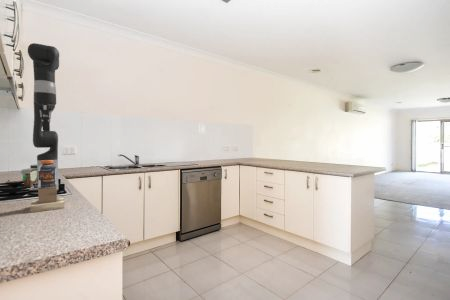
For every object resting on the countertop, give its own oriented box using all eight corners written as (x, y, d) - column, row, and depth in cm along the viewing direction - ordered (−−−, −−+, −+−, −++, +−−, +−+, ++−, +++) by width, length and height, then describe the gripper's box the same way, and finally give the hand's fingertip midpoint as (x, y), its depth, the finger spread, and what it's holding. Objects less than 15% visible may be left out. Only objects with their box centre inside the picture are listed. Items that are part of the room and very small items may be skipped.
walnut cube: (39, 200, 102) (39, 186, 101) (56, 198, 105) (56, 185, 105) (38, 203, 97) (38, 189, 96) (56, 201, 100) (56, 187, 100)
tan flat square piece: (32, 206, 102) (32, 200, 102) (63, 202, 108) (63, 197, 108) (30, 212, 94) (30, 205, 94) (64, 208, 100) (64, 201, 100)
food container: (26, 183, 155) (25, 168, 155) (37, 183, 158) (37, 167, 157) (17, 187, 144) (17, 170, 143) (30, 186, 146) (29, 170, 146)
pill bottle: (38, 189, 96) (37, 160, 96) (39, 186, 101) (38, 159, 101) (56, 187, 100) (55, 160, 100) (56, 185, 105) (55, 159, 104)
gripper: (55, 91, 98) (57, 130, 99) (56, 96, 110) (57, 131, 111) (32, 88, 94) (33, 130, 95) (35, 94, 106) (36, 131, 107)
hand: (46, 131), depth 103 cm, fingers open, 8 cm apart
